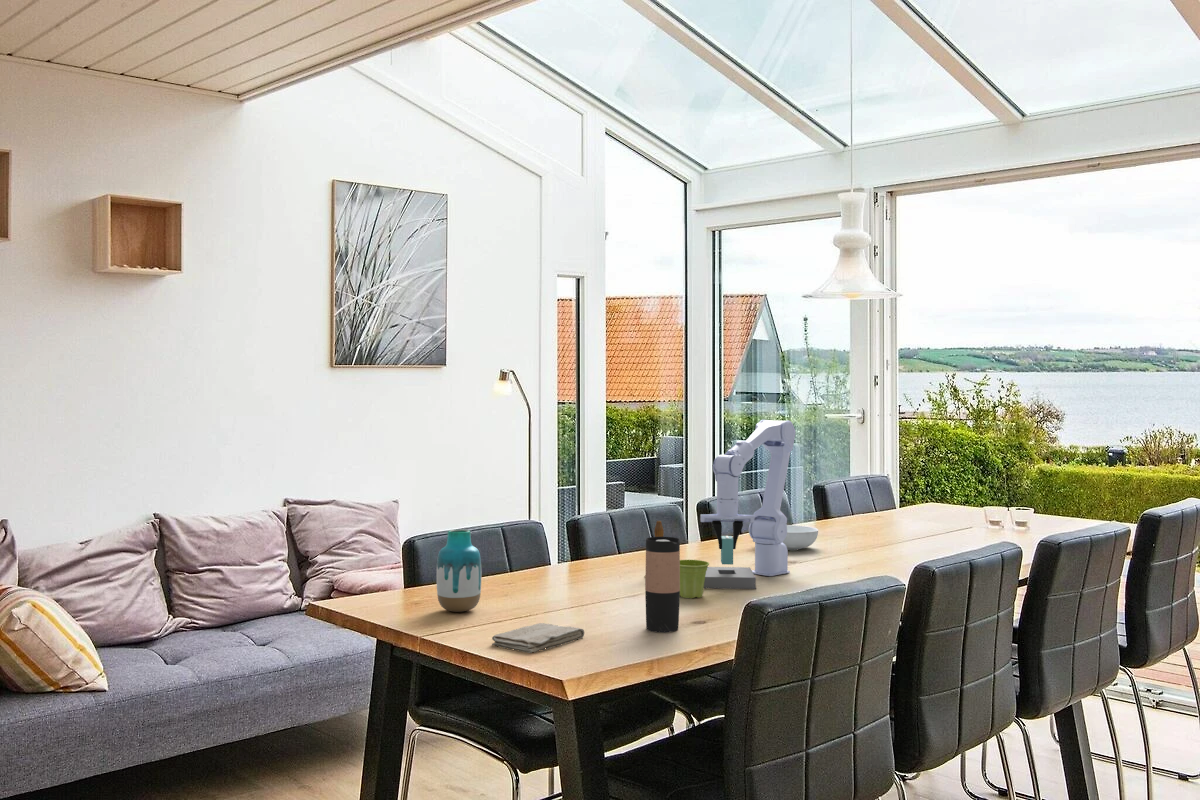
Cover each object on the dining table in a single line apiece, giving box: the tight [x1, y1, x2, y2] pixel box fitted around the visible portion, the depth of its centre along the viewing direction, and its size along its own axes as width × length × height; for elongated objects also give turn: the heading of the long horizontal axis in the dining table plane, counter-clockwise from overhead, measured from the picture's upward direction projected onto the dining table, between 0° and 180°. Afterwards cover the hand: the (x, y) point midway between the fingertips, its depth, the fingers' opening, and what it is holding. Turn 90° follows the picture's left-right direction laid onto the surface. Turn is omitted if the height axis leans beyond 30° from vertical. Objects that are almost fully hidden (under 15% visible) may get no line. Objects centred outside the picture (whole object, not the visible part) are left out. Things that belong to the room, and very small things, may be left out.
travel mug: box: [644, 536, 681, 633], centre depth 242 cm, size 8×8×20 cm
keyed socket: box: [703, 566, 757, 590], centre depth 298 cm, size 16×14×3 cm
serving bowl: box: [783, 524, 819, 551], centre depth 360 cm, size 21×21×7 cm
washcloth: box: [491, 622, 585, 654], centre depth 230 cm, size 12×18×3 cm, turn 145°
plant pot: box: [680, 559, 710, 599], centre depth 279 cm, size 9×9×9 cm
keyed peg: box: [720, 535, 734, 566], centre depth 298 cm, size 5×3×7 cm, turn 177°
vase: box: [436, 529, 482, 613], centre depth 259 cm, size 11×11×19 cm
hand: (727, 548), depth 298 cm, fingers closed on keyed peg, 3 cm apart
